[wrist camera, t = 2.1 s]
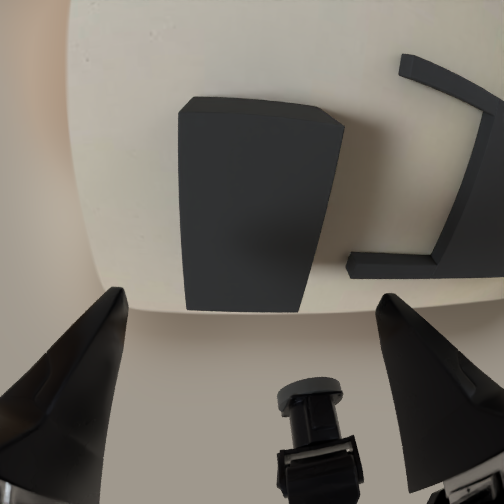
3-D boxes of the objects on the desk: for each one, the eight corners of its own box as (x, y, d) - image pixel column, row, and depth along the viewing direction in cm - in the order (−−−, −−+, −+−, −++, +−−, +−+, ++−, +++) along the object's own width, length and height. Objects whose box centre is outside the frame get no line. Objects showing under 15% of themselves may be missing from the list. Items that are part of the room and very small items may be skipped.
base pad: (499, 269, 21) (505, 277, 20) (345, 267, 19) (350, 279, 18) (553, 140, 13) (563, 146, 12) (401, 53, 11) (413, 54, 10)
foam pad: (287, 265, 19) (298, 313, 16) (193, 262, 18) (186, 310, 15) (317, 106, 13) (345, 126, 10) (192, 96, 12) (177, 111, 9)
